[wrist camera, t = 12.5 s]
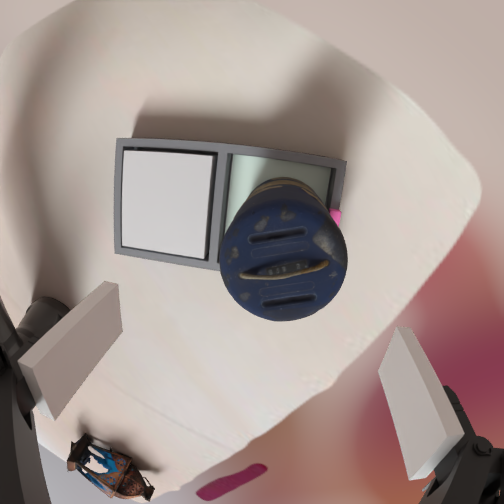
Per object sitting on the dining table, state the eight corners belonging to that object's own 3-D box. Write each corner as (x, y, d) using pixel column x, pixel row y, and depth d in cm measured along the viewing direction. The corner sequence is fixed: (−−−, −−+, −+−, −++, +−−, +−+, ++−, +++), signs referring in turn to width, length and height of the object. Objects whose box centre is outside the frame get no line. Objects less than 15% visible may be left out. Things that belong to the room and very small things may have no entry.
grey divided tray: (128, 244, 42) (110, 256, 37) (131, 137, 37) (111, 138, 32) (320, 273, 40) (324, 291, 36) (341, 159, 35) (349, 162, 30)
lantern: (90, 425, 71) (165, 466, 71) (71, 464, 63) (145, 505, 63) (73, 430, 56) (162, 481, 56) (52, 475, 49) (139, 525, 49)
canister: (246, 172, 36) (212, 197, 19) (326, 178, 35) (364, 210, 18) (242, 248, 39) (211, 328, 22) (318, 255, 38) (339, 339, 22)
